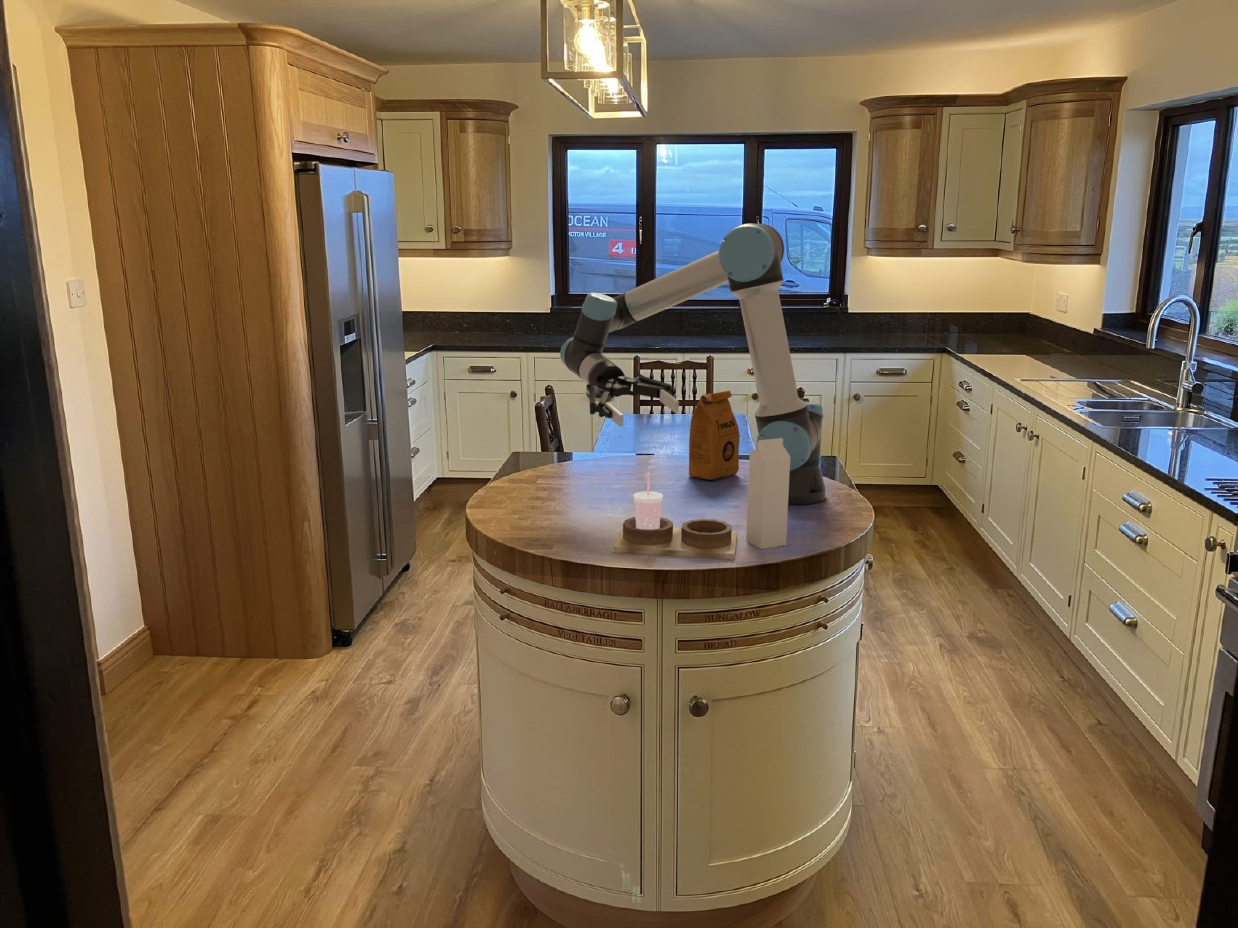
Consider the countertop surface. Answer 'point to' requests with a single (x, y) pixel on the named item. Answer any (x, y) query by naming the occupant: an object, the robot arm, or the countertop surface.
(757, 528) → the milk
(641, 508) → the beverage cup
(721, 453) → the coffee package
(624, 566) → the countertop surface
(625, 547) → the socket board
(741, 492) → the countertop surface
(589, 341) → the robot arm
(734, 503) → the countertop surface
